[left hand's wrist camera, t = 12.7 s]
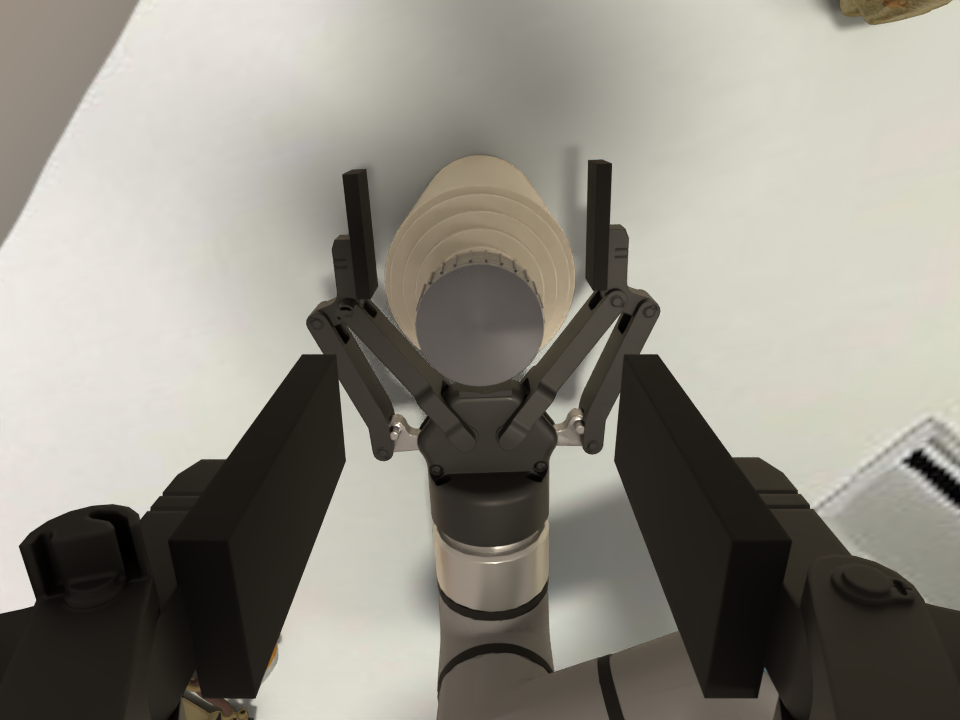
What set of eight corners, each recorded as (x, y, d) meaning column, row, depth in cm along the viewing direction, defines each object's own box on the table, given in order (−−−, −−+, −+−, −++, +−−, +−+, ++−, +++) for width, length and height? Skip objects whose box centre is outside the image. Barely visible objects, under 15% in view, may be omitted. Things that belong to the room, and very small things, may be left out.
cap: (561, 332, 22) (568, 351, 20) (457, 385, 23) (455, 409, 21) (504, 226, 21) (507, 237, 19) (396, 287, 21) (388, 303, 20)
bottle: (559, 240, 41) (635, 366, 21) (457, 295, 42) (438, 462, 22) (504, 131, 38) (530, 155, 18) (397, 193, 40) (315, 279, 20)
